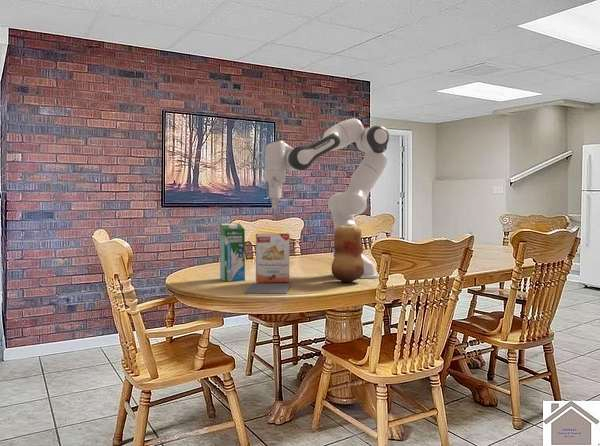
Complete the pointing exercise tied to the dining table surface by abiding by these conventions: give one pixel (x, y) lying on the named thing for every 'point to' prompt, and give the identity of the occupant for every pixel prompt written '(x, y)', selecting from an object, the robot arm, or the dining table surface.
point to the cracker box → (272, 258)
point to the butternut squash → (347, 253)
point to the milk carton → (232, 252)
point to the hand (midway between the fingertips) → (275, 208)
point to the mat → (268, 288)
